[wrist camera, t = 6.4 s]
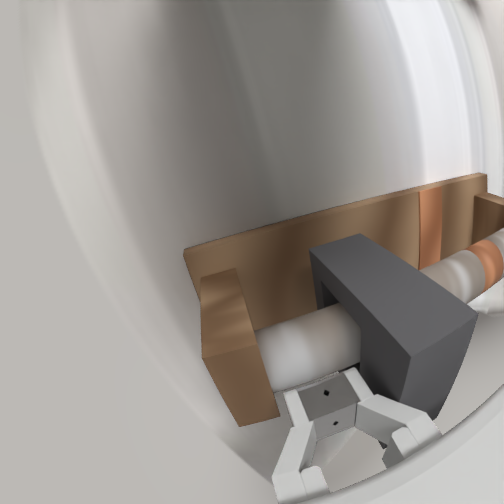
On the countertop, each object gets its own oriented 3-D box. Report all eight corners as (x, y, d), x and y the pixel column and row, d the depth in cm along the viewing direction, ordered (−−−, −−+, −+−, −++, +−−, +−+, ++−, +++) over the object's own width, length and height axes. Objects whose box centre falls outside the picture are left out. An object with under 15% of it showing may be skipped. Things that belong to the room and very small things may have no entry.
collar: (360, 233, 14) (478, 313, 6) (363, 326, 16) (436, 417, 9) (308, 248, 13) (411, 357, 6) (321, 342, 16) (383, 449, 8)
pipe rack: (479, 172, 17) (544, 191, 10) (475, 253, 20) (529, 284, 13) (184, 249, 15) (172, 329, 8) (223, 352, 18) (237, 441, 11)
